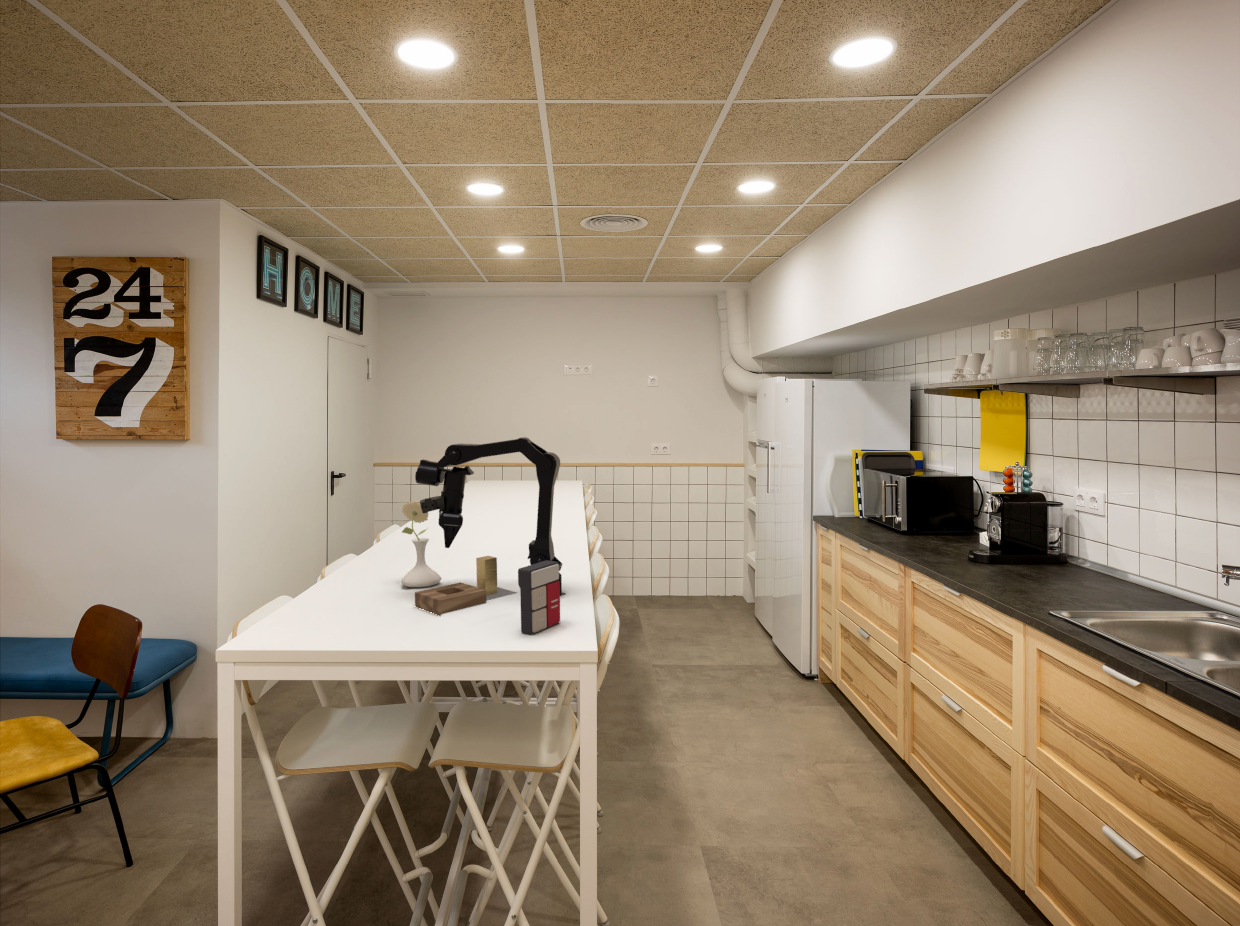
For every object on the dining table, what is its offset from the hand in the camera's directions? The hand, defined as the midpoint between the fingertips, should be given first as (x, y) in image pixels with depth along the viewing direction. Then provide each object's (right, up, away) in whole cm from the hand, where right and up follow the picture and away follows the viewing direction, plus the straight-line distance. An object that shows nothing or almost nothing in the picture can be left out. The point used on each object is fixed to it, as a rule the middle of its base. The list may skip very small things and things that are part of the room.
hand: (447, 544), depth 191 cm
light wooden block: (+11, -14, +1) cm, 18 cm away
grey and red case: (+30, -17, -29) cm, 45 cm away
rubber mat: (+11, -14, +1) cm, 18 cm away
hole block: (+4, -15, -10) cm, 19 cm away
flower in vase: (-11, -14, +12) cm, 22 cm away
